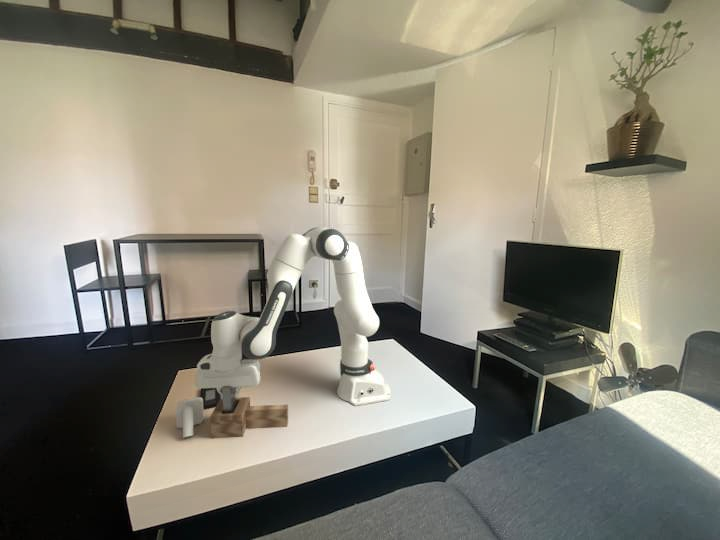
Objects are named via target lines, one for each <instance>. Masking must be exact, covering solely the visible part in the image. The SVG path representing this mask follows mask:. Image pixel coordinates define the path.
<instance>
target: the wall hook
mask: <svg viewBox="0 0 720 540" xmlns="http://www.w3.org/2000/svg"><path fill="white" fill-rule="evenodd" d="M204 411H205V410H204V409H203V399H202V398H201V397H200V396H197V397H193V398H187V399H182V400H180V401H178V402H177V404H176V406H175V422H176V427H177V428H179V429H182V439H183V438H189V437H192V436H194V426H195V425H196V426H197V425H200V424H201V423H202V422H203V421H204V418H205V417H204V415H205V413H204Z"/></svg>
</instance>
